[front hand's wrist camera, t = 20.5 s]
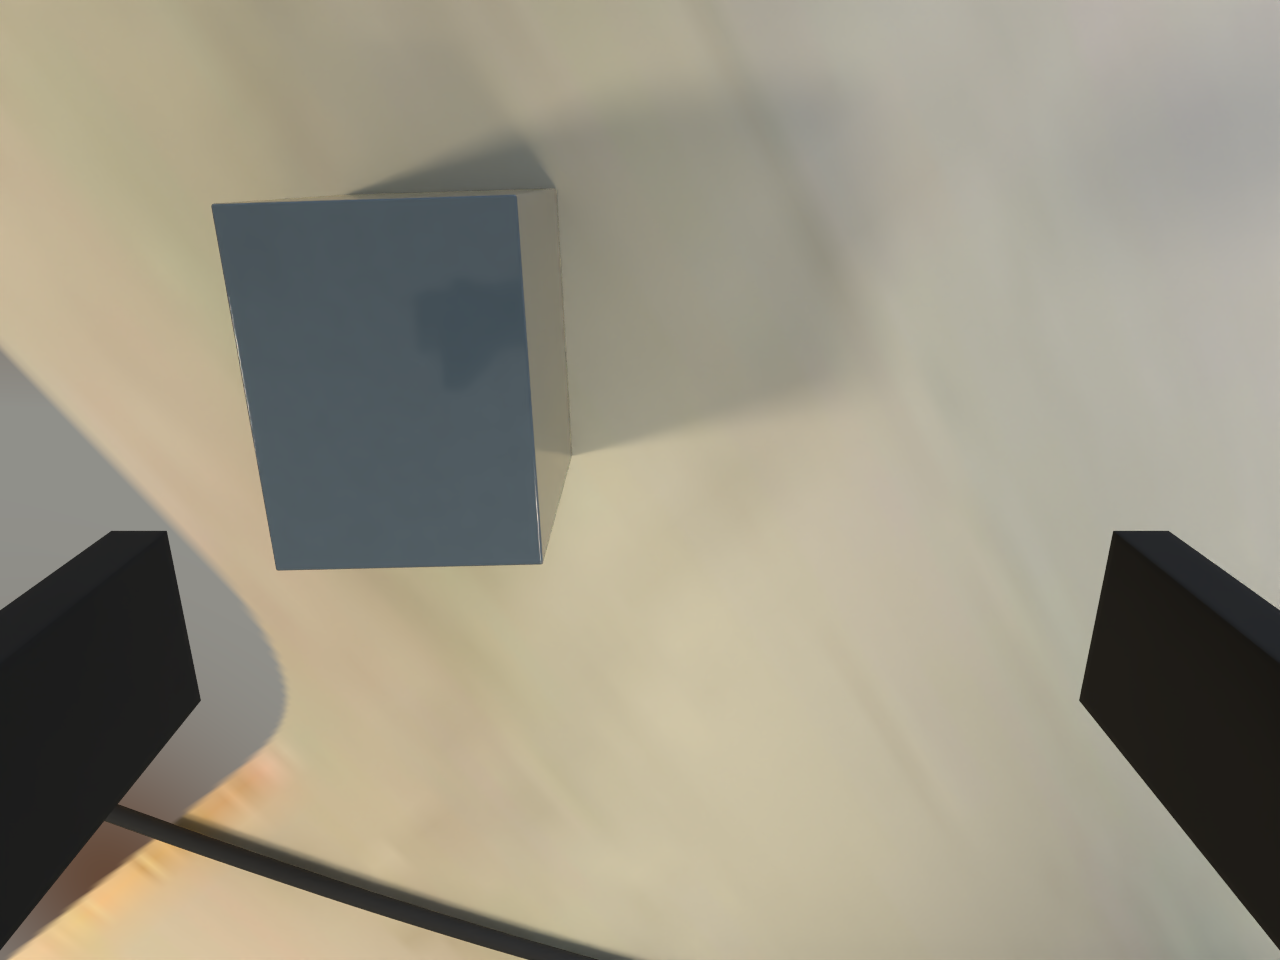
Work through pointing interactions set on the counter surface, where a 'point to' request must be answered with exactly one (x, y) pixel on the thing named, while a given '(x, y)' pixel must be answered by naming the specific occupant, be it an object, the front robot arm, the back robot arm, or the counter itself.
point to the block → (402, 373)
